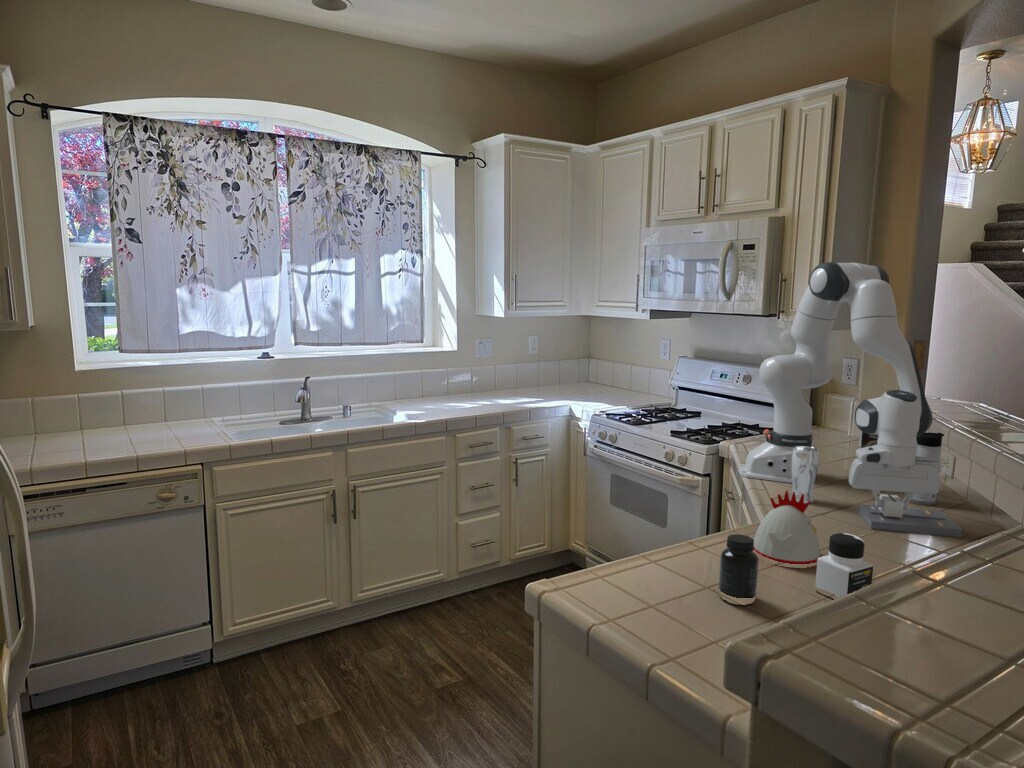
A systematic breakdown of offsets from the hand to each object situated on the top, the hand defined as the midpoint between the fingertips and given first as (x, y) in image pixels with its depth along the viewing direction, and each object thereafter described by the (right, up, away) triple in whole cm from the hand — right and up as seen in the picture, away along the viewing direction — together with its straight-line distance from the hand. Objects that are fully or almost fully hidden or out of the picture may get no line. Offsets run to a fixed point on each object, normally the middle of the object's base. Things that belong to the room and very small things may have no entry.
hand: (890, 507), depth 171 cm
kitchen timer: (-36, -7, -22) cm, 43 cm away
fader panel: (+4, -4, 0) cm, 6 cm away
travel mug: (+19, -2, +17) cm, 26 cm away
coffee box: (+22, +3, +50) cm, 55 cm away
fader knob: (0, -1, 0) cm, 1 cm away
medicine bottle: (-33, -10, -41) cm, 54 cm away
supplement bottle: (-54, -10, -43) cm, 70 cm away
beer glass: (-15, -1, +18) cm, 23 cm away
